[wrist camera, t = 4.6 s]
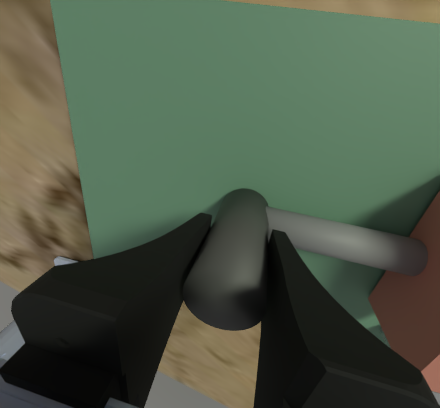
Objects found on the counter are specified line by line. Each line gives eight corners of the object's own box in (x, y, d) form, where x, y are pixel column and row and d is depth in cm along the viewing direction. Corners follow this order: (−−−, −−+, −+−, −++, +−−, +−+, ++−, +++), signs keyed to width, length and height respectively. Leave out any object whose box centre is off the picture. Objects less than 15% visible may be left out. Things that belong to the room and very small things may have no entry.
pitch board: (517, 381, 17) (530, 397, 16) (103, 266, 21) (96, 273, 20) (962, 90, 8) (1052, 89, 7) (63, -10, 12) (47, -19, 11)
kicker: (405, 308, 15) (503, 463, 8) (213, 258, 16) (176, 359, 10) (507, 182, 10) (849, 310, 4) (233, 133, 12) (192, 173, 6)
